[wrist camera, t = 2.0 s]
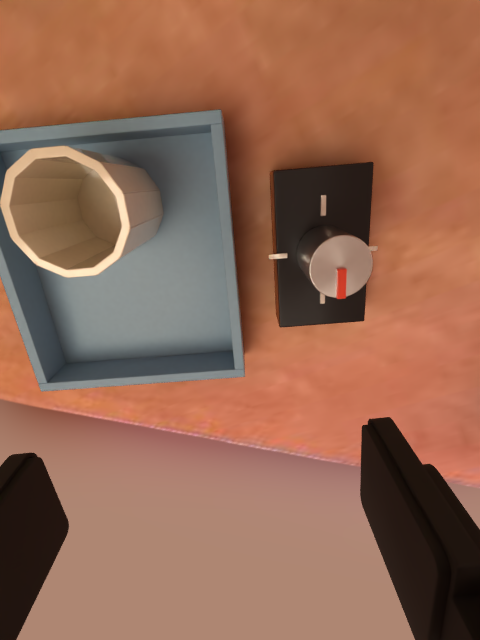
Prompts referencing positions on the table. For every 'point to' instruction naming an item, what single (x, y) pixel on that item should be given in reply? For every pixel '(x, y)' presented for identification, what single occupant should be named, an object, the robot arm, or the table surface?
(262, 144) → the table surface
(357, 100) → the table surface
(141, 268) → the tray
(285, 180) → the black dial panel
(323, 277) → the control knob
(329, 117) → the table surface
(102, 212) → the cup
